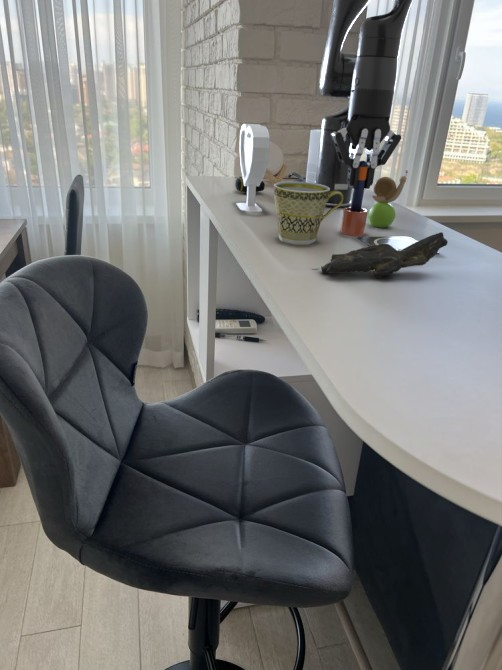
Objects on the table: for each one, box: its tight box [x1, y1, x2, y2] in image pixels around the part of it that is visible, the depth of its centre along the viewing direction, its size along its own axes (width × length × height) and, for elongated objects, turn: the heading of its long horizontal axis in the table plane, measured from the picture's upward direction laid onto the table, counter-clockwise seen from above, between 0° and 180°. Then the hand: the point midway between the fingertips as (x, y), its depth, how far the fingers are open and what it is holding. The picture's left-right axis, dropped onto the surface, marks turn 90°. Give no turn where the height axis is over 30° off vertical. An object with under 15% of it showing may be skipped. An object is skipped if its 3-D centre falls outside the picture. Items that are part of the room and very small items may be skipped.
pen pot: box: [340, 206, 369, 237], centre depth 99 cm, size 4×5×5 cm
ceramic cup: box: [273, 180, 343, 245], centre depth 92 cm, size 13×10×10 cm
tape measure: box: [234, 176, 266, 195], centre depth 134 cm, size 7×7×4 cm
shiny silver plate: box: [356, 235, 440, 255], centre depth 94 cm, size 11×11×1 cm
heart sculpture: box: [235, 123, 271, 213], centre depth 113 cm, size 16×5×18 cm, turn 11°
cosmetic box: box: [305, 129, 321, 183], centre depth 145 cm, size 8×7×16 cm
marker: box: [350, 160, 368, 212], centre depth 97 cm, size 2×2×12 cm
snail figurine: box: [367, 169, 409, 229], centre depth 104 cm, size 5×6×12 cm
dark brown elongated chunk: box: [320, 231, 449, 279], centre depth 78 cm, size 6×6×20 cm
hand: (358, 187), depth 96 cm, fingers closed on marker, 2 cm apart
